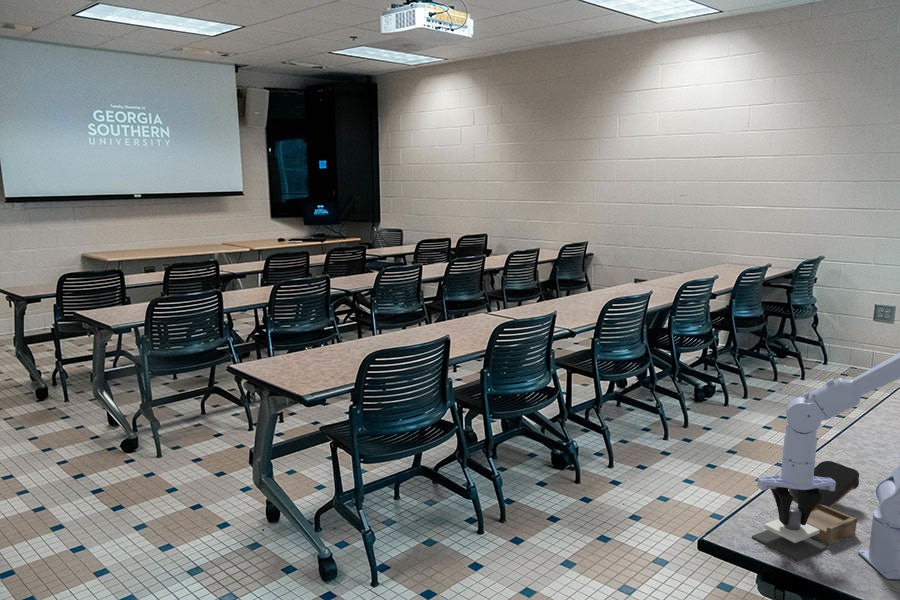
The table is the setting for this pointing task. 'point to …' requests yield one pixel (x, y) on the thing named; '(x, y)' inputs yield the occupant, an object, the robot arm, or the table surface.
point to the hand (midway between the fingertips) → (792, 522)
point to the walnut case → (831, 524)
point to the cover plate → (790, 533)
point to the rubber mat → (790, 545)
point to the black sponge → (841, 475)
